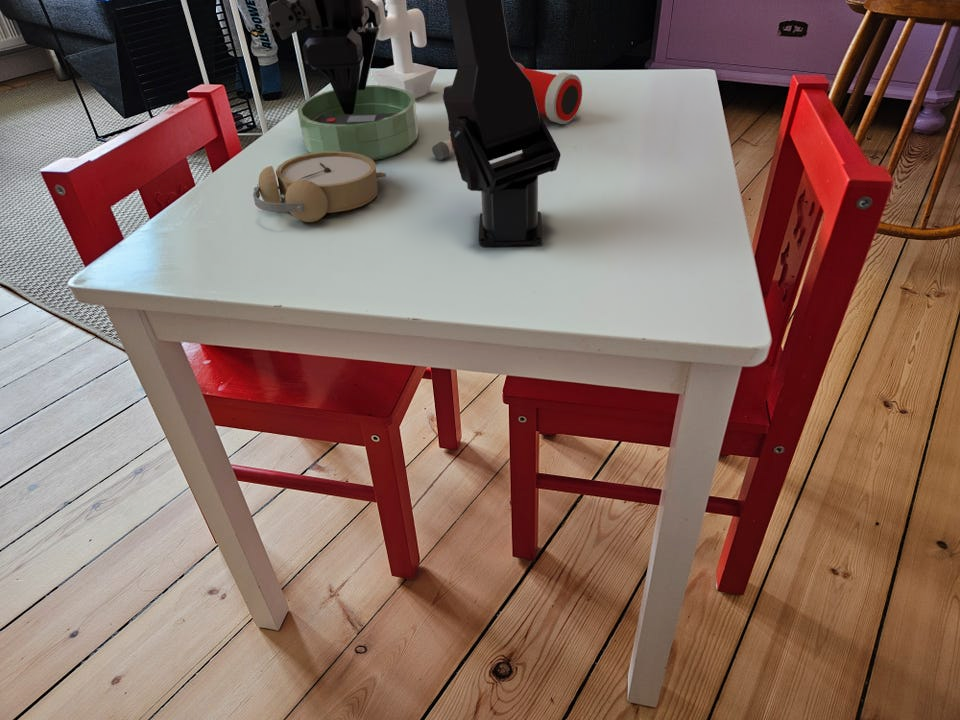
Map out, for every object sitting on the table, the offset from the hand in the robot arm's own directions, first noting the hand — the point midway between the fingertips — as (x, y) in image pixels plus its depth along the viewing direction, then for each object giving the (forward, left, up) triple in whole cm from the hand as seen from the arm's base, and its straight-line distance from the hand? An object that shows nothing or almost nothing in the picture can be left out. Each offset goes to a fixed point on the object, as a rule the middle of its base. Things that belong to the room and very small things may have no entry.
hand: (355, 101), depth 91 cm
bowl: (0, 0, -5) cm, 5 cm away
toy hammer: (+3, -20, -6) cm, 21 cm away
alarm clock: (-18, +2, -6) cm, 19 cm away
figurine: (+18, -4, -6) cm, 19 cm away
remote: (0, 0, -5) cm, 5 cm away
